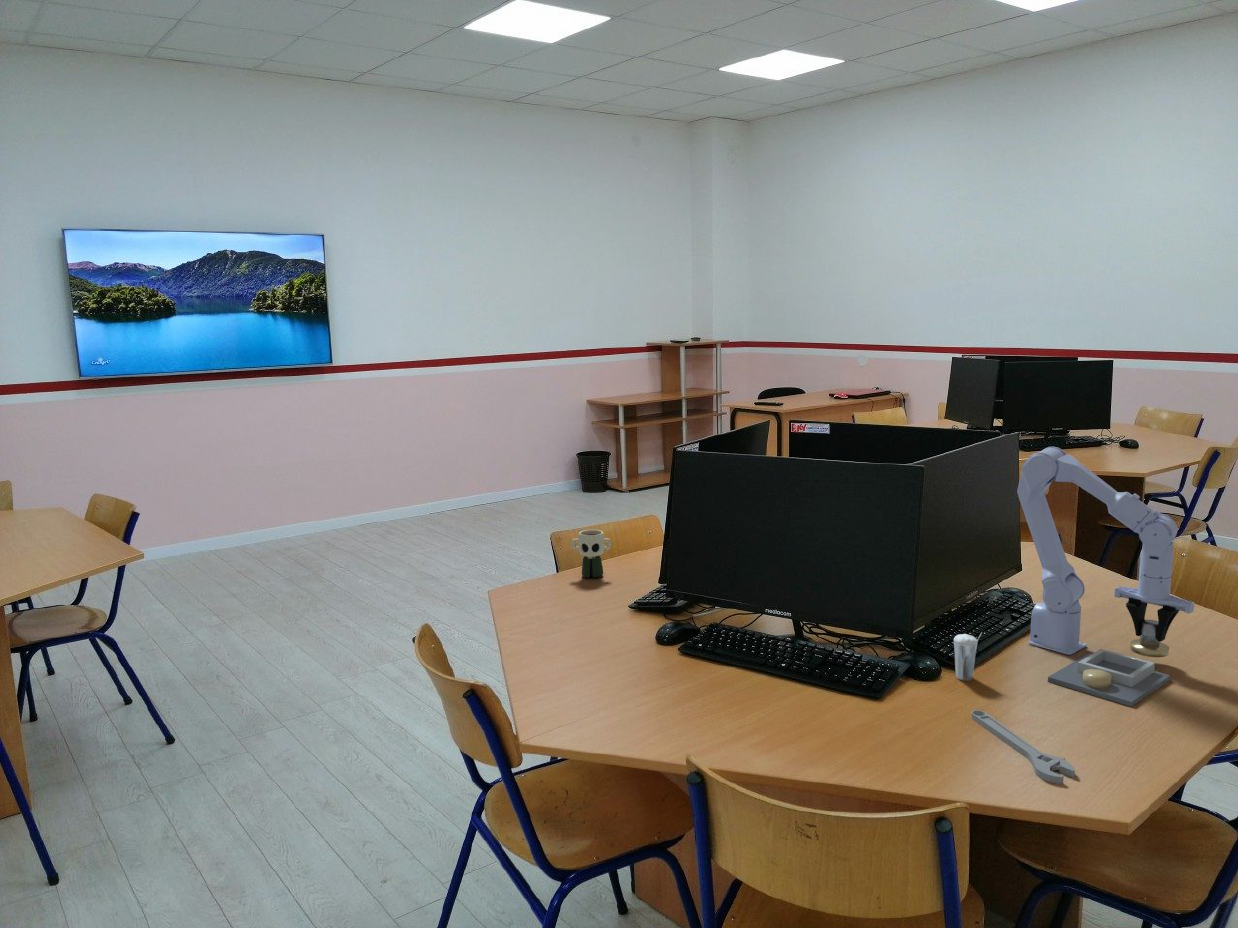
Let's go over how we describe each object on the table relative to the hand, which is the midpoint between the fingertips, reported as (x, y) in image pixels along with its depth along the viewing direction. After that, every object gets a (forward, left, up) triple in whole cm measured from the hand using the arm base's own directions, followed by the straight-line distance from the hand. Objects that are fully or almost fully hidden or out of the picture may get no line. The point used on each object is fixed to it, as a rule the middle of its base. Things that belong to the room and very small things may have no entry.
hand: (1150, 637), depth 193 cm
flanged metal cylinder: (0, 0, -3) cm, 3 cm away
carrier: (-2, -14, -6) cm, 15 cm away
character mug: (-132, -45, -6) cm, 140 cm away
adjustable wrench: (0, -52, -7) cm, 53 cm away
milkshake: (-22, -33, -6) cm, 40 cm away
